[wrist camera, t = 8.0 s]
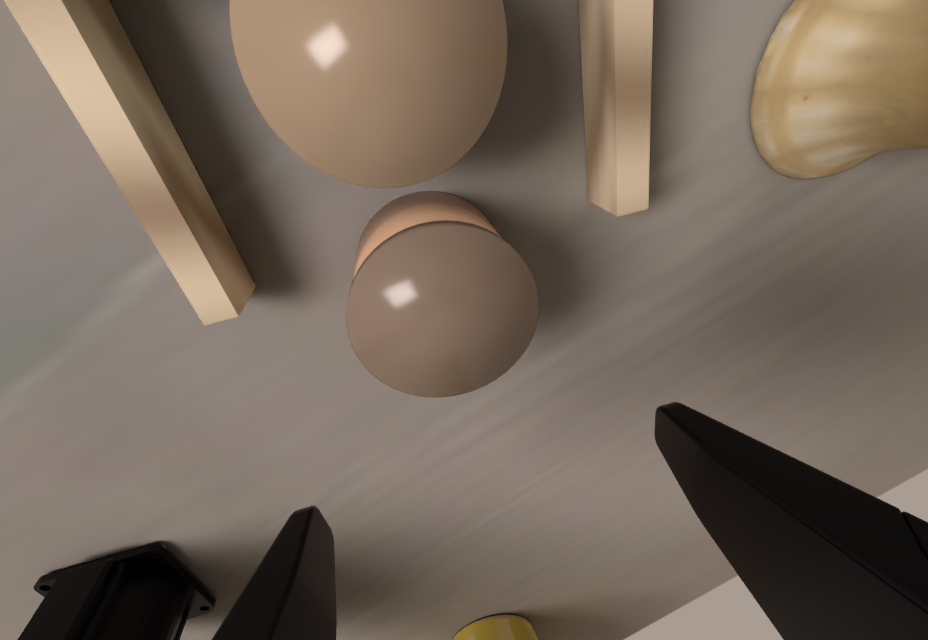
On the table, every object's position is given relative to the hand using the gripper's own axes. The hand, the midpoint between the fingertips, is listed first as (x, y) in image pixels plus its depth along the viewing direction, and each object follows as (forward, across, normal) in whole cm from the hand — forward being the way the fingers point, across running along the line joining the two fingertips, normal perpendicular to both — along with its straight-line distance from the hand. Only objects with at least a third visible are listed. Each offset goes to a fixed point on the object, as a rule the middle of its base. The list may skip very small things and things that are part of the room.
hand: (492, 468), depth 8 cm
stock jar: (+11, 0, -8) cm, 13 cm away
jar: (+11, 0, 0) cm, 11 cm away
